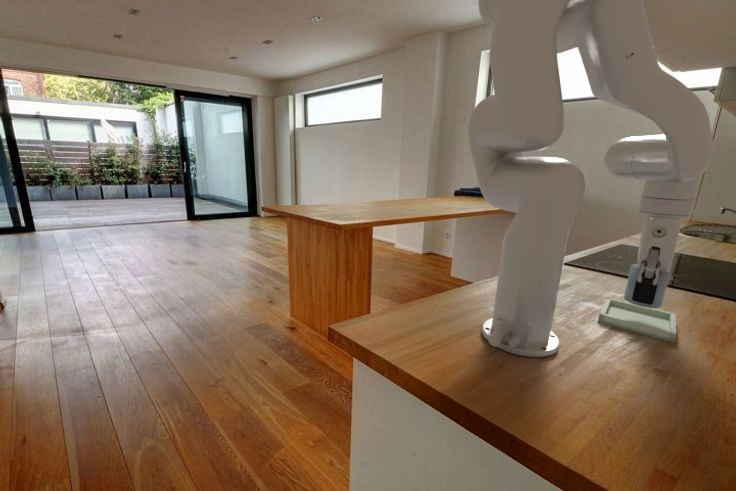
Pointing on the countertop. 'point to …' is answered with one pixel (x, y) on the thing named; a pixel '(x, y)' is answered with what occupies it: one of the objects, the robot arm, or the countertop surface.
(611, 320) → the tray
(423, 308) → the countertop surface
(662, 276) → the blue grey cylinder
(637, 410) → the countertop surface
